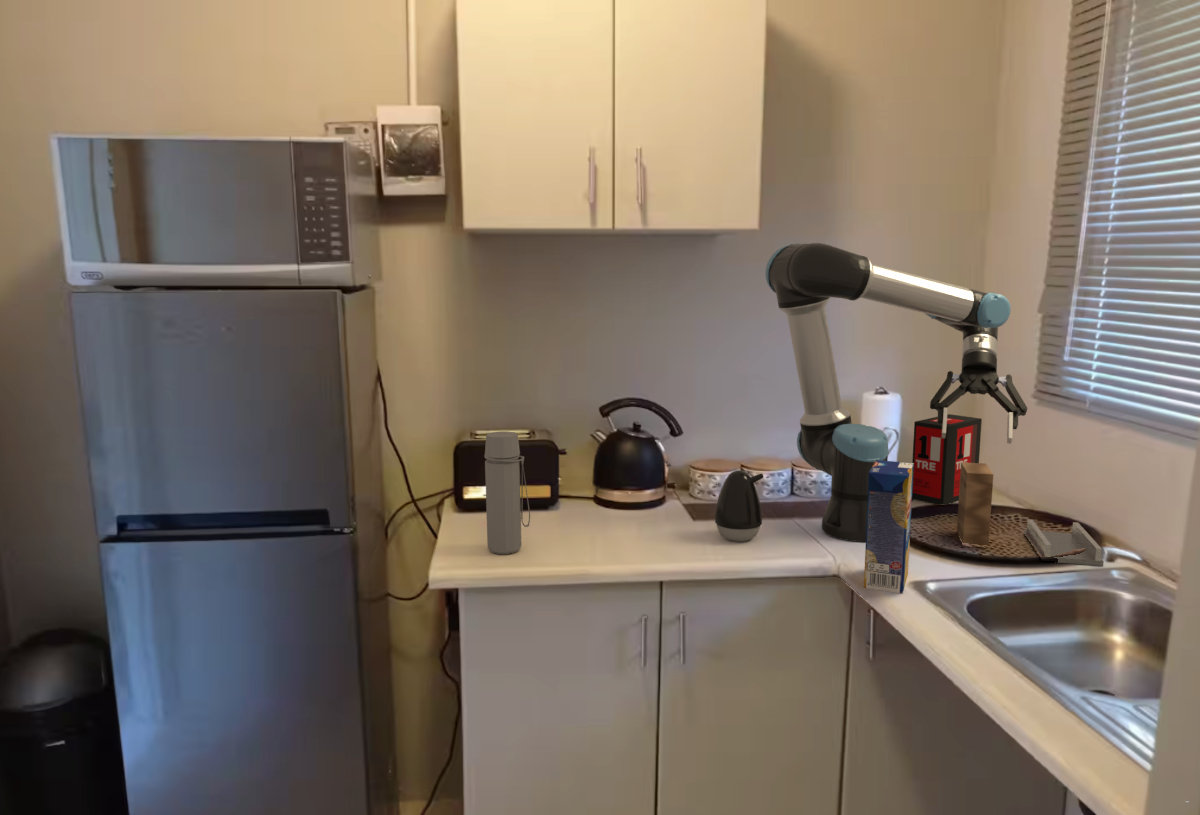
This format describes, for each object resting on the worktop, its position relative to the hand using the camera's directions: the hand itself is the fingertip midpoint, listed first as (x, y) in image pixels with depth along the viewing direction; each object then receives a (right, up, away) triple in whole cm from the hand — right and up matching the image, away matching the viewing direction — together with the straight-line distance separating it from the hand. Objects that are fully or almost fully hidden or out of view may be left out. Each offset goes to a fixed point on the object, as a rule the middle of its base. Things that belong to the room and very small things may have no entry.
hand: (976, 438), depth 192 cm
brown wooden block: (-4, -22, -6) cm, 23 cm away
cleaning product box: (+4, -16, +28) cm, 33 cm away
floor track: (+12, -23, -13) cm, 29 cm away
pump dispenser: (-54, -22, -4) cm, 58 cm away
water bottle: (-104, -23, -10) cm, 107 cm away
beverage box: (-30, -26, -30) cm, 50 cm away
